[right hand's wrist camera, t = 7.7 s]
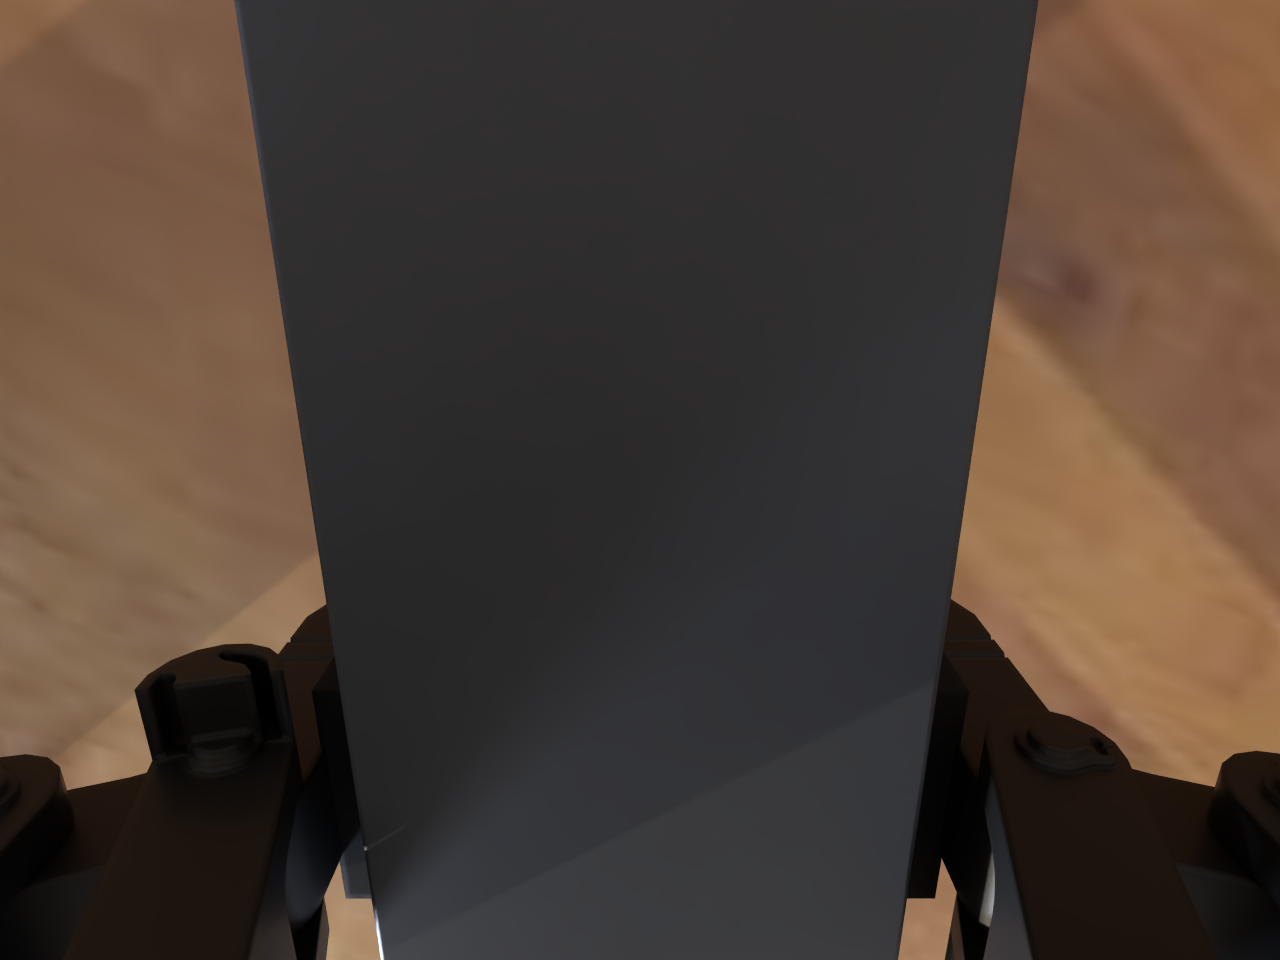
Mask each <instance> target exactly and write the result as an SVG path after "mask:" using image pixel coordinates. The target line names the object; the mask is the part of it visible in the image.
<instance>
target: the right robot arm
mask: <svg viewBox="0 0 1280 960" xmlns="http://www.w3.org/2000/svg"><path fill="white" fill-rule="evenodd" d="M135 694H136V698H137V702H138V705H139V709H140V713H141V717H142V721H143V725H144V729H145V733H146V737H147V741H148V745H149V748H150V752H151V756H152V760H153V761H152V763H151V765H150V767H149V769H148V772H147V773H144V774H141V775H137V776H133V777H130V778H125V779H120V780H115V781H110V782H105V783H101V784H96V785H91V786H86V787H81V788H76V789H72V790H67V789H66V785H65V782H64V779H63V776H62V772H61V769H60V767H59V766H58V765H57V764H55V763H54V762H53V761H52V760H50V759H49V758H48V757H41V756H34V755H27V754H24V755H16V756H8V757H0V960H326V954H327V945H328V936H329V925H328V918H327V911H326V905H325V900H324V895H325V893H326V890H327V888H328V886H329V884H330V881H331V879H332V877H333V874H334V872H335V870H336V868H337V865H338V863H339V861H340V866H341V872H342V878H343V884H344V890H345V896H346V898H372V897H371V891H370V884H369V878H368V871H367V865H366V858H365V851H364V845H363V838H362V832H361V825H360V819H359V812H358V806H357V799H356V793H355V786H354V779H353V773H352V766H351V760H350V753H349V747H348V740H347V734H346V727H345V721H344V714H343V707H342V701H341V694H340V688H339V681H338V675H337V668H336V662H335V655H334V649H333V642H332V635H331V629H330V622H329V616H328V609H327V604H326V605H325V606H323V607H322V608H320V609H318V610H317V611H315V612H314V613H312V614H311V615H309V616H308V617H306V619H305V620H304V621H303V623H302V624H301V625H300V627H299V628H298V629H297V631H296V632H295V633H294V634H293V636H292V637H291V641H290V642H287V644H286V645H285V646H284V647H283V649H282V650H281V651H280V653H279V654H277V653H275V652H274V651H273V650H271V649H270V648H267V647H263V646H258V645H254V644H224V645H219V646H215V647H210V648H205V649H201V650H196V651H194V652H191V653H189V654H186V655H183V656H181V657H178V658H176V659H173V660H171V661H169V662H167V663H166V664H164V665H162V666H161V667H159V668H158V669H156V670H154V671H153V672H151V673H150V674H148V675H147V676H146V677H145V679H144V680H143V681H142V682H141V683H140V684H139V685H138V686H137V688H136V689H135ZM941 858H942V860H943V862H944V864H945V866H946V869H947V871H948V873H949V875H950V878H951V880H952V882H953V884H954V887H955V889H956V891H957V894H956V900H955V905H954V911H953V917H952V922H951V928H950V933H949V939H948V945H947V950H946V956H945V960H1280V754H1278V753H1270V752H1262V751H1252V752H1245V753H1238V754H1234V755H1232V756H1231V757H1230V758H1229V759H1227V760H1226V761H1225V762H1223V763H1222V766H1221V769H1220V772H1219V775H1218V779H1217V782H1216V785H1215V787H1212V786H1207V785H1202V784H1197V783H1192V782H1188V781H1183V780H1178V779H1173V778H1168V777H1163V776H1158V775H1154V774H1150V773H1146V772H1142V771H1138V770H1135V769H1132V768H1131V766H1130V764H1129V761H1128V759H1127V758H1126V757H1125V755H1124V754H1123V753H1122V751H1121V750H1120V749H1119V747H1118V746H1117V745H1116V743H1115V742H1113V741H1112V740H1111V739H1109V738H1108V737H1106V736H1105V735H1104V734H1102V733H1101V732H1100V731H1098V730H1097V729H1095V728H1094V727H1092V726H1090V725H1087V724H1085V723H1083V722H1081V721H1079V720H1076V719H1074V718H1072V717H1070V716H1066V715H1062V714H1058V713H1054V712H1050V711H1049V710H1048V709H1047V708H1046V706H1045V705H1044V704H1043V703H1042V701H1041V700H1040V699H1039V697H1038V696H1037V695H1036V694H1035V692H1034V691H1033V690H1032V688H1031V687H1030V686H1029V684H1028V683H1027V682H1026V681H1025V679H1024V678H1023V677H1022V675H1021V674H1020V673H1019V671H1018V670H1017V669H1016V668H1015V666H1014V665H1013V664H1012V662H1011V661H1010V660H1009V659H1008V658H1005V656H1004V652H1003V651H1002V649H1001V648H1000V647H999V646H998V644H997V643H996V642H995V640H991V635H990V634H989V633H988V631H987V630H986V629H985V627H984V626H983V625H982V623H981V622H980V621H979V620H978V618H977V617H976V616H975V614H973V613H972V612H970V611H968V610H967V609H965V608H964V607H962V606H961V605H959V604H958V603H956V602H954V601H953V600H950V607H949V614H948V620H947V627H946V634H945V641H944V648H943V655H942V661H941V668H940V675H939V682H938V689H937V696H936V702H935V709H934V716H933V723H932V730H931V737H930V743H929V750H928V757H927V764H926V771H925V778H924V785H923V791H922V798H921V805H920V812H919V819H918V826H917V832H916V839H915V846H914V853H913V860H912V867H911V873H910V880H909V887H908V894H907V898H935V894H936V888H937V882H938V876H939V870H940V864H941Z"/></svg>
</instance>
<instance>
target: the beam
mask: <svg viewBox="0 0 1280 960" xmlns="http://www.w3.org/2000/svg"><path fill="white" fill-rule="evenodd" d="M234 1H235V7H236V14H237V20H238V27H239V33H240V40H241V46H242V53H243V60H244V66H245V73H246V79H247V86H248V92H249V99H250V105H251V112H252V118H253V125H254V132H255V138H256V145H257V151H258V158H259V164H260V171H261V177H262V184H263V190H264V197H265V204H266V210H267V217H268V223H269V230H270V236H271V243H272V249H273V256H274V262H275V269H276V276H277V282H278V289H279V295H280V302H281V308H282V315H283V321H284V328H285V334H286V341H287V348H288V354H289V361H290V367H291V374H292V380H293V387H294V393H295V400H296V406H297V413H298V420H299V426H300V433H301V439H302V446H303V452H304V459H305V465H306V472H307V478H308V485H309V491H310V498H311V505H312V511H313V518H314V524H315V531H316V537H317V544H318V550H319V557H320V563H321V570H322V577H323V583H324V590H325V596H326V603H327V609H328V616H329V622H330V629H331V635H332V642H333V649H334V655H335V662H336V668H337V675H338V681H339V688H340V694H341V701H342V707H343V714H344V721H345V727H346V734H347V740H348V747H349V753H350V760H351V766H352V773H353V779H354V786H355V793H356V799H357V806H358V812H359V819H360V825H361V832H362V838H363V845H364V851H365V858H366V865H367V871H368V878H369V884H370V891H371V897H372V904H373V910H374V917H375V923H376V930H377V936H378V943H379V950H380V956H381V960H898V956H899V949H900V942H901V935H902V928H903V921H904V914H905V908H906V901H907V894H908V887H909V880H910V873H911V867H912V860H913V853H914V846H915V839H916V832H917V826H918V819H919V812H920V805H921V798H922V791H923V785H924V778H925V771H926V764H927V757H928V750H929V743H930V737H931V730H932V723H933V716H934V709H935V702H936V696H937V689H938V682H939V675H940V668H941V661H942V655H943V648H944V641H945V634H946V627H947V620H948V614H949V607H950V600H951V593H952V586H953V579H954V573H955V566H956V559H957V552H958V545H959V538H960V531H961V525H962V518H963V511H964V504H965V497H966V490H967V484H968V477H969V470H970V463H971V456H972V449H973V443H974V436H975V429H976V422H977V415H978V408H979V402H980V395H981V388H982V381H983V374H984V367H985V361H986V354H987V347H988V340H989V333H990V326H991V319H992V313H993V306H994V299H995V292H996V285H997V278H998V272H999V265H1000V258H1001V251H1002V244H1003V237H1004V231H1005V224H1006V217H1007V210H1008V203H1009V196H1010V190H1011V183H1012V176H1013V169H1014V162H1015V155H1016V148H1017V142H1018V135H1019V128H1020V121H1021V114H1022V107H1023V101H1024V94H1025V87H1026V80H1027V73H1028V66H1029V60H1030V53H1031V46H1032V39H1033V32H1034V25H1035V19H1036V12H1037V5H1038V0H234Z"/></svg>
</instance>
